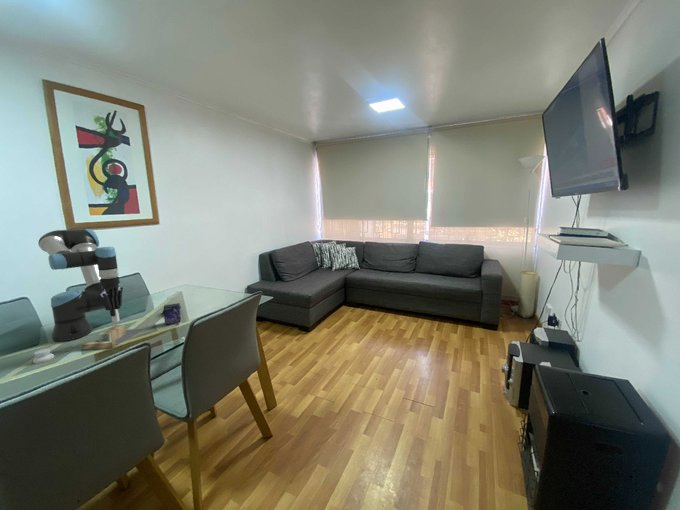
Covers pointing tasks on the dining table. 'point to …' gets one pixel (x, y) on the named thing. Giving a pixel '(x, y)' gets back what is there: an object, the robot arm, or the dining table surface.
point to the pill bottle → (43, 356)
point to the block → (112, 333)
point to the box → (172, 313)
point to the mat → (126, 335)
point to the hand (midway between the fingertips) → (115, 321)
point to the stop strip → (98, 345)
